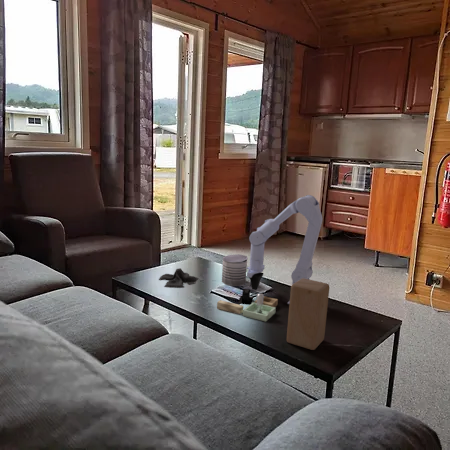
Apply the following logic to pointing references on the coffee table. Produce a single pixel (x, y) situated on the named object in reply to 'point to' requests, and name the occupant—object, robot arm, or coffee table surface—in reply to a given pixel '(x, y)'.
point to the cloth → (178, 279)
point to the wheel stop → (230, 307)
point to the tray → (266, 313)
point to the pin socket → (269, 301)
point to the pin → (259, 303)
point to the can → (234, 270)
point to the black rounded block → (245, 297)
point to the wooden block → (307, 313)
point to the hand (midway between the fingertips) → (254, 289)
